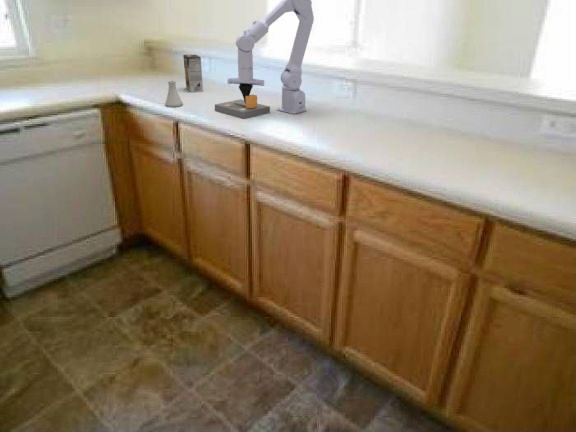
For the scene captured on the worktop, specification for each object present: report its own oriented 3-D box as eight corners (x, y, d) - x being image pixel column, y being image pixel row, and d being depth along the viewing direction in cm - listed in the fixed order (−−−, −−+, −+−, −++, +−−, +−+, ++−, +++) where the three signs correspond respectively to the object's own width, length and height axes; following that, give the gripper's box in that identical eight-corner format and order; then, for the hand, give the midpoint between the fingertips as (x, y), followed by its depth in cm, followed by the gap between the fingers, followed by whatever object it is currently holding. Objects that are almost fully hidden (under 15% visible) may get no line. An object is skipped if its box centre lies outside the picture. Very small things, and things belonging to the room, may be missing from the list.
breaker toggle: (257, 106, 178) (257, 95, 176) (249, 108, 176) (249, 97, 174) (253, 105, 180) (253, 94, 178) (245, 107, 177) (245, 96, 175)
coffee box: (185, 89, 221) (182, 54, 214) (198, 88, 224) (196, 54, 216) (190, 92, 214) (187, 57, 207) (203, 91, 216) (201, 56, 209)
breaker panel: (269, 112, 182) (269, 106, 180) (244, 118, 172) (243, 111, 171) (240, 105, 193) (240, 98, 191) (214, 110, 183) (214, 103, 182)
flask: (161, 106, 189) (159, 81, 185) (173, 102, 195) (170, 79, 190) (175, 108, 186) (172, 83, 182) (186, 104, 192) (184, 80, 187)
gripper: (266, 67, 175) (266, 102, 181) (231, 65, 178) (232, 99, 184) (261, 70, 169) (261, 106, 175) (225, 67, 172) (226, 103, 178)
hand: (246, 103), depth 179 cm, fingers closed
